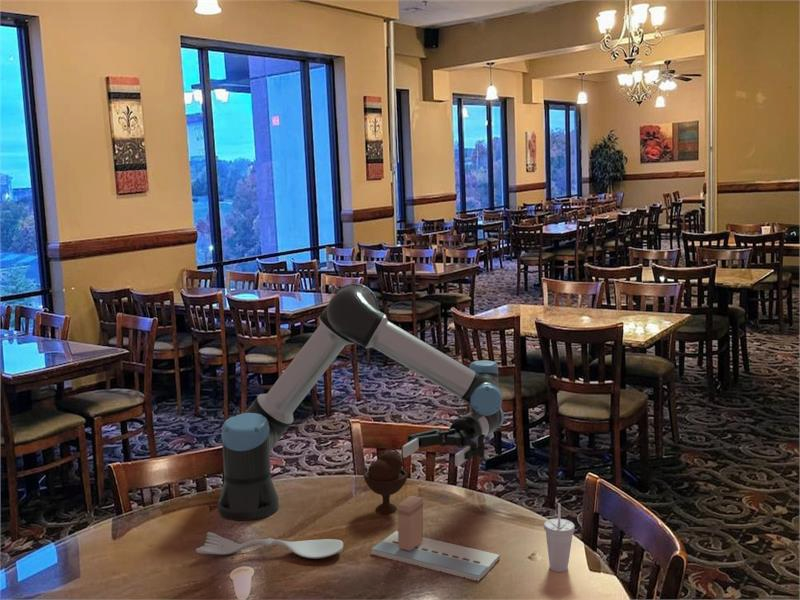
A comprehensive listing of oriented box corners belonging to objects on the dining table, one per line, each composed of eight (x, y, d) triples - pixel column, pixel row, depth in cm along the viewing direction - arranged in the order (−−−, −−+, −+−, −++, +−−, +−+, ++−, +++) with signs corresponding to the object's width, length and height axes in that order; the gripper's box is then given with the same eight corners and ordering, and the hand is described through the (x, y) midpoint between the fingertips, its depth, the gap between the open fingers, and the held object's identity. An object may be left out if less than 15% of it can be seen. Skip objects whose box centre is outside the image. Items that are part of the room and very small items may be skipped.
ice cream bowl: (381, 498, 208) (380, 442, 205) (416, 507, 201) (415, 450, 199) (355, 511, 199) (354, 454, 197) (391, 522, 193) (390, 462, 190)
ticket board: (371, 554, 176) (371, 548, 176) (396, 534, 185) (396, 530, 185) (478, 581, 163) (478, 575, 163) (499, 559, 173) (499, 554, 172)
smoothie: (572, 561, 171) (573, 499, 169) (575, 575, 165) (576, 511, 163) (542, 560, 172) (542, 498, 170) (544, 574, 166) (545, 510, 164)
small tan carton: (398, 548, 175) (397, 504, 174) (411, 537, 180) (410, 495, 179) (410, 551, 174) (409, 507, 172) (423, 540, 179) (423, 497, 178)
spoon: (208, 544, 183) (207, 530, 182) (346, 546, 181) (345, 531, 180) (195, 562, 174) (194, 547, 173) (340, 564, 172) (340, 549, 171)
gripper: (515, 451, 195) (479, 480, 176) (425, 438, 207) (383, 463, 189) (515, 422, 194) (479, 447, 175) (424, 410, 206) (382, 433, 188)
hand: (429, 456), depth 182 cm, fingers open, 13 cm apart
